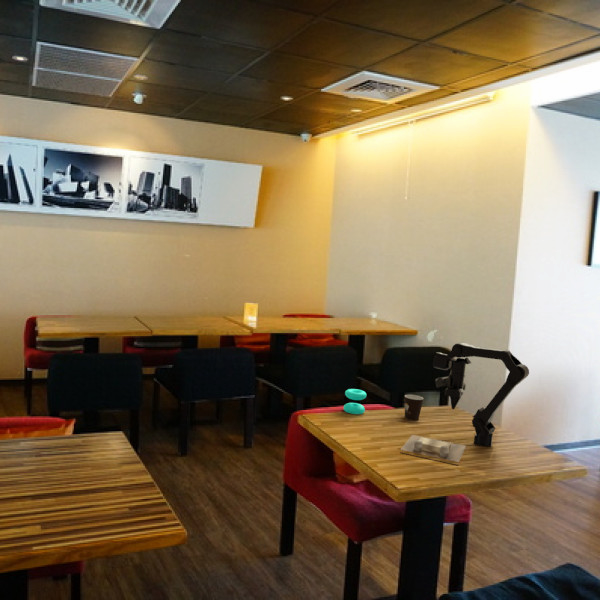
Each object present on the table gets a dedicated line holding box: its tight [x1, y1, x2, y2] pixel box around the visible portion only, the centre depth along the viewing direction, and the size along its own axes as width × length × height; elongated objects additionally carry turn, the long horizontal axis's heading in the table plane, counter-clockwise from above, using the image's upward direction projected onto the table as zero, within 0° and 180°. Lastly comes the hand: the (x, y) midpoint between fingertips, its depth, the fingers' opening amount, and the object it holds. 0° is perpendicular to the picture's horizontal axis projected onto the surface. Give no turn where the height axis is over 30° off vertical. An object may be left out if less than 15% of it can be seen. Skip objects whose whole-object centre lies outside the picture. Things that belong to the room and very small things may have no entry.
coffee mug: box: [402, 394, 424, 421], centre depth 291 cm, size 12×9×10 cm
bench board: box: [399, 434, 467, 467], centre depth 245 cm, size 22×22×5 cm
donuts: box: [343, 388, 367, 415], centre depth 291 cm, size 10×10×10 cm
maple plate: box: [418, 436, 452, 454], centre depth 243 cm, size 12×8×2 cm, turn 68°
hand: (453, 408), depth 262 cm, fingers closed
